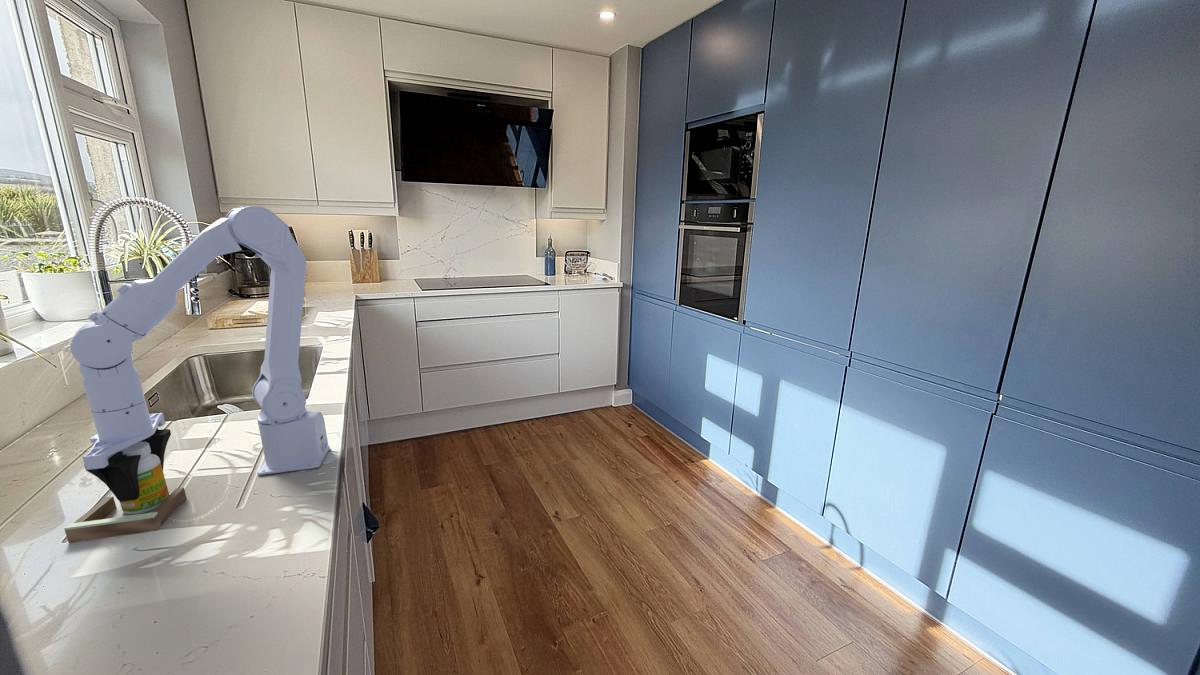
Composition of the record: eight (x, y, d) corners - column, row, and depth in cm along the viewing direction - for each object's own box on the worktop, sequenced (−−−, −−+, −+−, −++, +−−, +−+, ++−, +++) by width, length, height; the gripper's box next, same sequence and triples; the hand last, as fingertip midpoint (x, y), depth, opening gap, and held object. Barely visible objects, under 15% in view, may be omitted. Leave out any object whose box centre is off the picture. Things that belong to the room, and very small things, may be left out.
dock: (186, 498, 76) (183, 485, 76) (157, 530, 69) (153, 515, 68) (108, 509, 74) (104, 495, 73) (68, 542, 66) (64, 528, 66)
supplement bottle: (142, 517, 72) (124, 458, 69) (113, 513, 73) (94, 454, 70) (179, 496, 77) (164, 440, 74) (151, 492, 78) (135, 437, 75)
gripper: (118, 390, 76) (139, 468, 79) (43, 429, 62) (73, 521, 66) (172, 385, 78) (190, 462, 81) (110, 422, 64) (136, 513, 68)
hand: (141, 488), depth 74 cm, fingers open, 5 cm apart
